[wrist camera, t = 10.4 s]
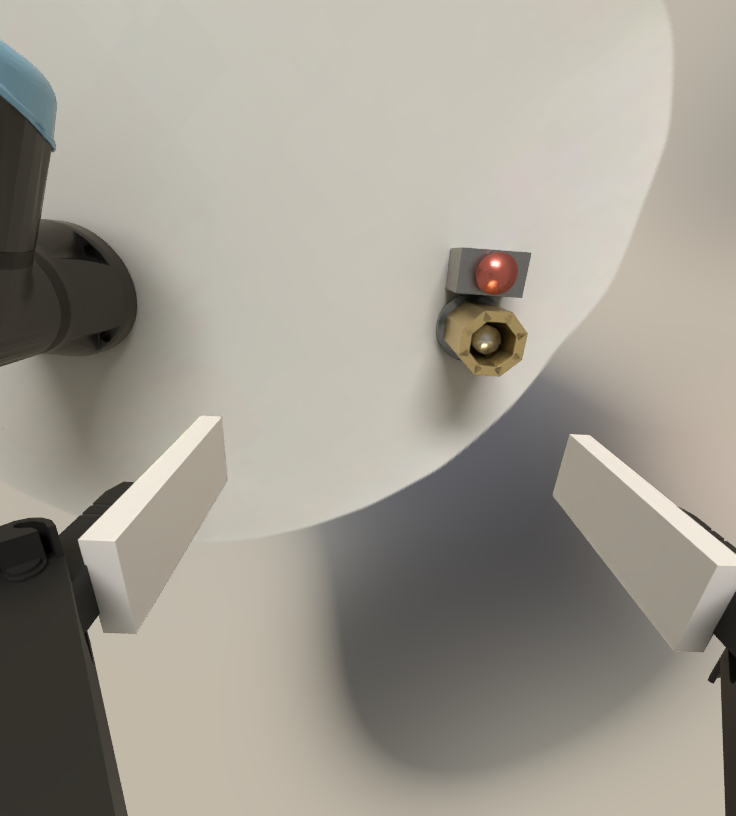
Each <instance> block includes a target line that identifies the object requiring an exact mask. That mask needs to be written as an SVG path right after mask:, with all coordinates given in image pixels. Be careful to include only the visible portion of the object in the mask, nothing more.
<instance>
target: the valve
mask: <svg viewBox="0 0 736 816" xmlns="http://www.w3.org/2000/svg"><path fill="white" fill-rule="evenodd" d="M530 257H531V253H527V252H514V251H501V250H487V249H474V248H452V249H451V252H450V259H449V266H448V274H447V281H446V288H445V289H448V290H450V291H452V292H454V293H462V294H463V295H460V296H457V297H455V298H454V299H452V300H451V301H449V302H448V303H447V304H446V305H445V307H444V308H443V309H442V311H441V312H440V314H439V317H438V320H437V324H436V333H437V338H438V341H439V343H440V345H441V346H442V348H443V349H444V350H445V351H446V352H447V353H448V354H449V355H450V356H452V357H454V358H456V359H459V360H461V359H460V358H459V357H458V356H457V355H456V353H455V352H454V351H453V350H452V348H451V347H450V346H449V345H448V343H447V342H446V341H445V340H444V338H443V333H444V326H445V319H446V315H447V314H448V313H450V312H451V311H452V310H453V309H454V308H456V307H457V306H458V305H459V304H460V303H462V302H463V301H464V300H465V301H479V302H488V303H490V304H493V305H495V306H498V305H497V303H496V302H494V301H493V300H492V299H490V298H489V297H486V296H484V295H489V296H503V297H517V298H522V295H523V290H524V286H525V281H526V276H527V271H528V266H529V262H530ZM498 307H499V306H498ZM500 342H501V336H500V333H499V331H498V330H497V329H495V328H493V327H492V326H490V322H486V323H485V324H484V325H482V326H481V327H480V328H479V329H477V330H476V331H475V332H474V333H472V337H471V343H470V347H474V348H475V349H476V350H477V351H479V352H480V353H484V354H488V353H492V352H494V351H495V350H496V349H497V348H498V347H499V345H500Z"/></svg>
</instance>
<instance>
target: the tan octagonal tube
mask: <svg viewBox="0 0 736 816" xmlns="http://www.w3.org/2000/svg"><path fill="white" fill-rule="evenodd" d="M486 322H490V326H492V327H493V328H495V329H497V330H498V331H499V333H500V336H501V342H500V345H499V347H498V348H497V349H496V350H495V351H494V352H492V353H488V354H484V353H480V352H479V351H477V350H476V349H475V348H474V347H470V343H471V337H472V333H474V332H475V331H476V330H477V329H479V328H480V327H481V326H482V325H484V324H485V323H486ZM527 334H528V333H527V332H526V330H525V329H524V328H523V326H522V325H521V324H520V322H519V321H518V319H517V318H516V317H515V315H514V314H513V313H512V312H510V311H508V310H505V309H503V308H500V307H498V306H495V305H493V304H490V303H488V302H479V301H465V300H464V301H463V302H462V303H460V304H459V305H458V306H457V307H456V308H454V309H453V310H452V311H451V312H450V313H448V314H447V315H446V319H445V326H444V333H443V338H444V340H445V341H446V342H447V343H448V345H449V346H450V347H451V348H452V350H453V351H454V352H455V353H456V355H457V356H458V357H459V358H460V359H461V360H462V362H463V363H464V364H465V365H466V366H467V367H468V369H469V370H470V371H471V372H472V373H473V374H474V375H484V376H499V377H500V376H501V375H502V374H504V373H505V372H506V371H508V370H509V369H510V368H512V367H513V366H514V365H516V364H517V363H518V362H520V361H521V360H522V357H523V352H524V348H525V343H526V339H527Z"/></svg>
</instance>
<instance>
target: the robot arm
mask: <svg viewBox="0 0 736 816" xmlns="http://www.w3.org/2000/svg"><path fill="white" fill-rule="evenodd" d="M56 111H57V102H56V96H55V93H54V91H53V89H52V88H51V86H50V84H49V82H48V81H47V79H46V78H45V77H44V75H43V74H42V73H41V72H40V71H39V70H38V69H37V68H36V67H35V66H34V65H33V64H31V63H30V62H29V61H28V60H27V59H25V58H24V57H23V56H22V55H20V54H19V53H18V52H16V51H15V50H14V49H12V48H11V47H10V46H8V45H7V44H6V43H4V42H3V41H2V40H0V367H1V366H4V365H7V364H10V363H13V362H16V361H20V360H23V359H26V358H29V357H32V356H35V355H38V354H54V355H66V356H86V355H92V354H95V353H98V352H101V351H104V350H107V349H109V348H112V347H114V346H115V345H117V344H118V343H120V342H121V341H122V340H123V339H124V338H125V337H126V335H127V334H128V333H129V331H130V329H131V327H132V325H133V323H134V319H135V315H136V305H137V304H136V293H135V289H134V285H133V282H132V279H131V276H130V274H129V272H128V270H127V268H126V266H125V265H124V263H123V261H122V260H121V259H120V257H119V256H118V255H117V253H116V252H115V251H114V250H113V249H112V248H111V247H110V246H109V245H108V244H107V243H106V242H105V241H104V240H102V239H101V238H100V237H99V236H97V235H96V234H94V233H93V232H91V231H89V230H87V229H85V228H83V227H81V226H79V225H76V224H73V223H69V222H64V221H56V220H46V219H41V212H42V206H43V199H44V193H45V187H46V180H47V174H48V168H49V161H50V155H51V152H55V150H56V144H55V141H54V129H55V120H56ZM227 481H228V479H227V468H226V457H225V446H224V434H223V423H222V417H217V416H200V417H199V418H198V419H197V420H196V421H195V422H194V423H193V424H192V425H191V426H190V427H189V428H188V429H187V430H186V431H185V432H184V433H183V434H182V435H181V436H180V437H179V438H178V439H177V440H176V441H175V442H174V443H173V444H172V445H171V446H170V447H169V448H168V449H167V451H166V452H165V453H164V454H163V455H162V456H161V457H160V458H159V459H158V460H157V461H156V462H155V463H154V464H153V465H152V466H151V467H150V468H149V469H148V470H147V471H146V472H145V473H144V474H143V475H142V476H141V477H140V478H139V479H138V480H137V481H136V482H122V483H121V484H119V485H117V486H115V487H113V488H111V489H109V490H108V491H106V492H105V493H104V494H103V495H101V496H100V497H99V498H98V499H97V500H96V501H95V502H94V503H93V506H90V507H89V508H87V509H86V510H85V511H84V512H83V515H82V516H81V515H80V516H79V517H78V518H77V519H76V520H75V521H74V522H72V523H71V524H70V525H69V526H68V527H67V528H66V529H65V530H64V531H63V532H62V533H61V534H60V535H58V532H57V529H56V525H55V524H54V523H53V521H52V520H49V519H45V518H27V519H22V520H17V521H13V522H11V523H8V524H5V525H2V526H0V816H128V815H127V810H126V805H125V801H124V796H123V791H122V787H121V783H120V777H119V773H118V768H117V763H116V759H115V754H114V750H113V745H112V741H111V736H110V731H109V727H108V722H107V718H106V713H105V708H104V703H103V699H102V694H101V690H100V685H99V680H98V676H97V671H96V667H95V662H94V657H93V652H92V648H91V643H90V639H89V636H88V632H87V630H88V629H89V627H90V626H91V625H92V623H93V622H94V620H95V619H96V618H97V616H98V615H99V618H100V622H101V625H102V629H103V632H104V633H128V634H137V632H138V630H139V628H140V627H141V625H142V623H143V622H144V620H145V618H146V617H147V615H148V613H149V612H150V610H151V608H152V607H153V605H154V603H155V602H156V600H157V598H158V597H159V595H160V593H161V591H162V590H163V588H164V586H165V585H166V583H167V581H168V580H169V578H170V576H171V575H172V573H173V571H174V570H175V568H176V566H177V565H178V563H179V561H180V560H181V558H182V556H183V554H184V553H185V551H186V550H187V548H188V546H189V544H190V543H191V541H192V539H193V538H194V536H195V534H196V533H197V531H198V529H199V528H200V526H201V524H202V523H203V521H204V519H205V518H206V516H207V514H208V513H209V511H210V509H211V508H212V506H213V504H214V502H215V501H216V499H217V497H218V496H219V494H220V492H221V491H222V489H223V487H224V486H225V484H226V482H227ZM553 496H554V498H555V499H556V500H557V501H558V503H559V504H560V505H561V507H562V508H563V509H564V510H565V512H566V513H567V514H568V515H569V517H570V518H571V520H572V521H573V522H574V523H575V525H576V526H577V527H578V529H579V530H580V531H581V532H582V533H583V535H584V536H585V538H586V539H587V540H588V541H589V543H590V544H591V545H592V546H593V548H594V549H595V550H596V552H597V553H598V554H599V556H600V557H601V558H602V559H603V560H604V562H605V563H606V565H607V566H608V567H609V569H610V570H611V571H612V572H613V574H614V575H615V576H616V578H617V579H618V580H619V581H620V583H621V584H622V585H623V587H624V588H625V589H626V590H627V592H628V593H629V594H630V595H631V597H632V598H633V599H634V601H635V602H636V603H637V605H638V606H639V607H640V609H641V610H642V611H643V612H644V614H645V615H646V616H647V618H648V619H649V620H650V621H651V623H652V624H653V625H654V627H655V628H656V629H657V630H658V632H659V633H660V634H661V636H662V637H663V638H664V639H665V641H666V642H667V643H668V645H669V646H670V647H671V648H672V650H673V651H682V652H684V651H685V652H704V650H705V649H706V647H707V645H708V643H709V641H710V640H711V638H712V636H713V634H714V635H715V636H716V637H717V638H718V639H719V640H720V641H721V642H722V643H723V644H724V646H725V647H726V648H725V650H724V652H723V653H722V655H721V657H720V658H719V660H718V662H717V664H716V665H715V667H714V669H713V670H712V672H711V674H710V676H709V679H708V681H709V682H711V683H714V682H715V680H716V679H717V678H720V677H721V701H722V729H723V757H724V786H725V814H726V816H736V548H735V547H734V546H733V545H731V544H730V543H729V542H727V541H724V538H722V537H721V536H720V535H719V534H717V533H716V532H715V531H711V528H710V527H709V526H707V525H706V524H705V523H704V522H702V521H701V520H700V519H699V518H697V517H696V516H694V515H693V514H691V513H689V512H687V511H685V510H684V509H681V508H680V507H678V506H676V505H674V504H673V503H672V502H671V501H670V500H668V499H667V498H666V497H665V496H663V495H662V494H661V493H660V492H659V491H657V490H656V489H655V488H654V487H653V486H651V485H650V484H649V483H647V482H646V481H645V480H644V479H643V478H641V477H640V476H639V475H638V474H637V473H635V472H634V471H633V470H632V469H630V468H629V467H628V466H627V465H625V464H624V463H623V462H622V461H621V460H619V459H618V458H617V457H616V456H614V455H613V454H612V453H611V452H609V451H608V450H607V449H606V448H605V447H603V446H602V445H601V444H600V443H598V442H597V441H596V440H595V439H594V438H592V437H591V436H590V435H574V434H570V436H569V439H568V443H567V446H566V450H565V453H564V457H563V460H562V464H561V467H560V471H559V474H558V478H557V481H556V485H555V488H554V492H553Z"/></svg>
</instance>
